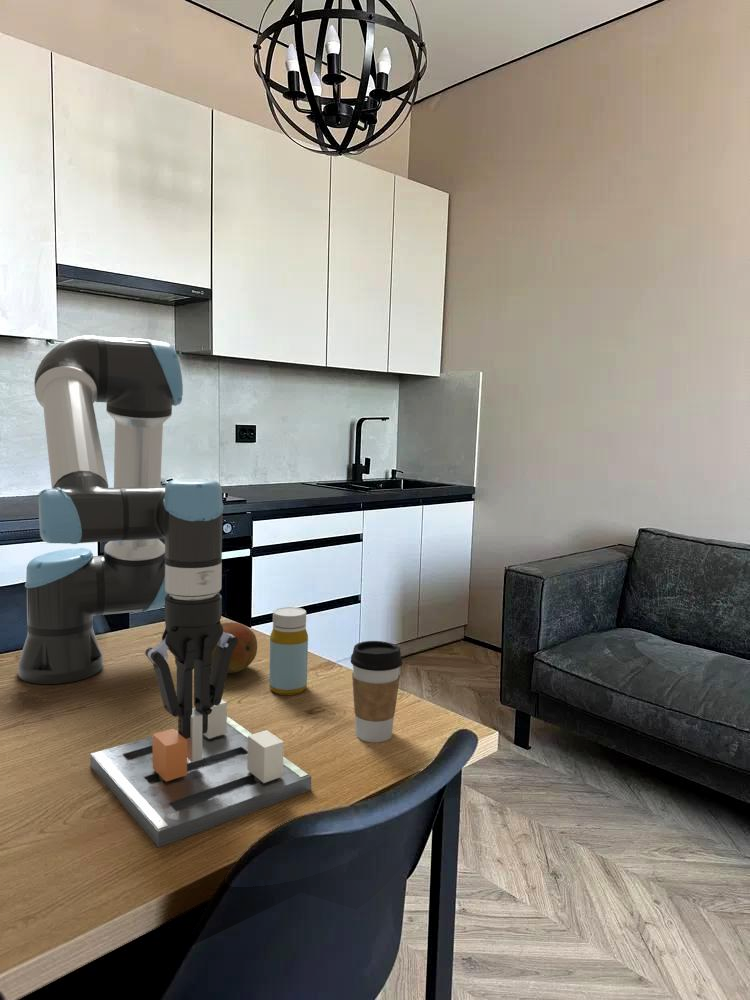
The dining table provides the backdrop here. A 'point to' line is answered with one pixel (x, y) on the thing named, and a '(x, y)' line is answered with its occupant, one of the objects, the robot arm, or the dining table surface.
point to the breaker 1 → (217, 721)
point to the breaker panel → (193, 785)
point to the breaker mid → (169, 754)
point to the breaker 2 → (265, 756)
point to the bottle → (288, 651)
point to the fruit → (240, 646)
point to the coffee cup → (375, 688)
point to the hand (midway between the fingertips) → (192, 756)
